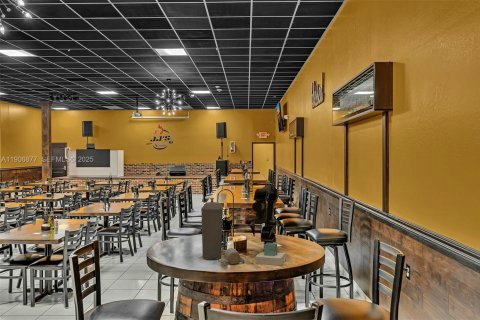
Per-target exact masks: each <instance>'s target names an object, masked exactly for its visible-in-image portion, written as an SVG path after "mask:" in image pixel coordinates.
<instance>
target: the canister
mask: <svg viewBox="0 0 480 320" xmlns="http://www.w3.org/2000/svg"><path fill="white" fill-rule="evenodd" d="M209 199H210V202H209V201H207V202H205V204H204V205H203V206H202V207H201V210H200V211H201V212H200V213H201V243H202V244H201V245H202V246H201V247H202V248H201V249H202V258H203V259H205V260H212V261H213V260H219V259H221V258H222V251H223V250H222V248H223V247H222V245H223V242H222V240H223V210H224V208H223V206H222V205H221V204H219V202H216V201H214V199H215V198H214V197H210V198H209Z"/></svg>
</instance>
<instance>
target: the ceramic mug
mask: <svg viewBox="0 0 480 320" xmlns="http://www.w3.org/2000/svg"><path fill="white" fill-rule="evenodd" d="M224 259H225V261H227V262H228V263H229V264H231V265H238V263H241V264H244V263H245V261H246V259H244V258H242V257H241V255H240V253H239V251H237V250H236V249H235V248H233V247H230V248H227V249H226V250H225V252H224Z"/></svg>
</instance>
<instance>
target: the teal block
mask: <svg viewBox="0 0 480 320" xmlns="http://www.w3.org/2000/svg"><path fill="white" fill-rule="evenodd" d="M263 250H264V256H276V255H277V252H278V243H276V242H274V243H266V244H264V243H263Z"/></svg>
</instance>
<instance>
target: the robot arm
mask: <svg viewBox="0 0 480 320" xmlns="http://www.w3.org/2000/svg"><path fill="white" fill-rule="evenodd" d="M279 195H280V193H279V190H278V188H276V187H275V185H274V184H265V185H264V186H263V187H261V188H256V189H255V191H254V195H253V199H252V201H255V202H253V203H252V206H251V207H252V208H251V209H252V211H254V212H255V213H256V215H255V217H254V218H249V217H248V218H247V219H245V222H244V225H247V227H248V226H249V228H250V230H251V233H252V236H253V237H255V236H256V226H255V225H264V226H262V227H261V232H260V242H261V243H263V245H264V244H266V243H276V242H277V236H276V233H275V229H274V228H275V227H276V226H278V225H279V220H278V219H274V215H275V214H274V212H275V205H276V203H277V202H278V200H279V197H280V196H279ZM262 251H264V249H263V250H262Z"/></svg>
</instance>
